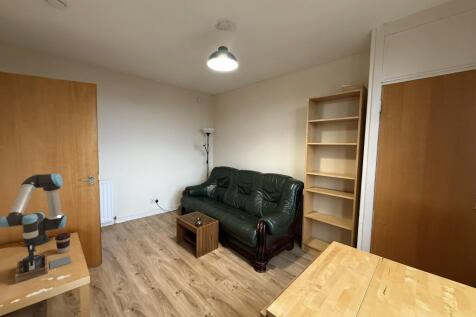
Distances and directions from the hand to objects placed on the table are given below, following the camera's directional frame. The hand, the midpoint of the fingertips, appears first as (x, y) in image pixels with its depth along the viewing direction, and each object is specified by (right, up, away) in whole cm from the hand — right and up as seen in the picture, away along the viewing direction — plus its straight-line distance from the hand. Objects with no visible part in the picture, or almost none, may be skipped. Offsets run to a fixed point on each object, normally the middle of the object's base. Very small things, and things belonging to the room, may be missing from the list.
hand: (32, 265), depth 145 cm
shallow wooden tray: (0, -4, +1) cm, 4 cm away
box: (0, -4, +1) cm, 4 cm away
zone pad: (+10, -4, +11) cm, 16 cm away
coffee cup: (-1, -2, +27) cm, 27 cm away
